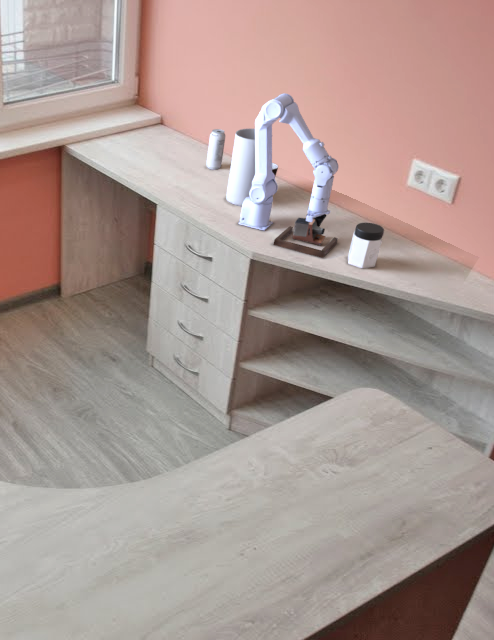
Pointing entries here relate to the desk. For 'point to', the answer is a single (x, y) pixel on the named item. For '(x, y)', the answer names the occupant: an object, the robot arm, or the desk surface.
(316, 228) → the electronic device
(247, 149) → the cylinder vase
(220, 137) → the energy drink can
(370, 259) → the jar
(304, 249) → the frame
